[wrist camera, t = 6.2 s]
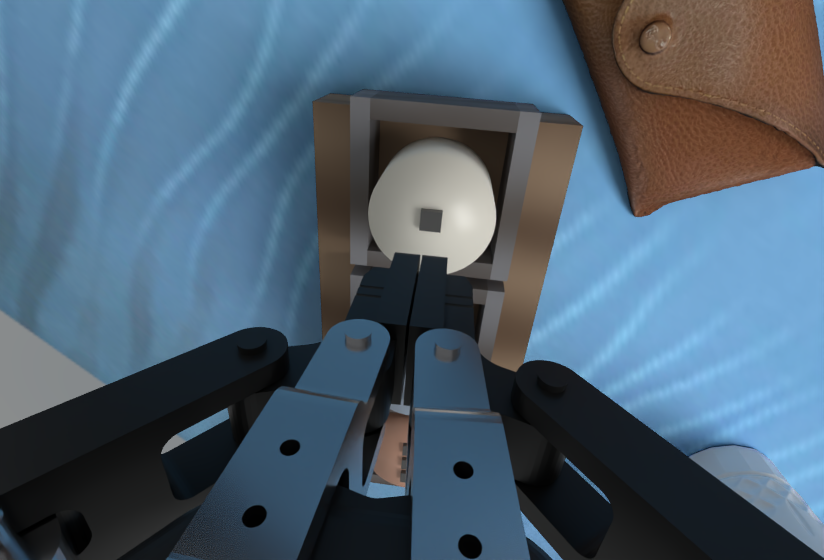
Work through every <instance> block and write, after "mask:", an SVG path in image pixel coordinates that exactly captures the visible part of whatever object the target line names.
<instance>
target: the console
mask: <svg viewBox="0 0 824 560" xmlns="http://www.w3.org/2000/svg"><path fill="white" fill-rule="evenodd" d="M313 121H314V146H315V170H316V194H317V218H318V242H319V266H320V290H321V314H322V339H324V337H325V336H326V334H327V332H328V331H329V330H330V329H331V328H332V327H333V326H334V325H336V324H338V323H340V322H343V321H345V319H346V317H347V314H348V312H349V309H350V307H351V305H352V302H353V300H354V297H355V295H356V292H357V290H358V288H359V287H360V283H361V280H362V278H363V276H364V274H366V273H367V272H368V271H370V270H371V269H373V268H374V267H381V268H390V266H391V263H392V261H391V260H390V259H389V258H388V257H387V256H386V255H385V254H384V253H383V252H382V251H381V250H380V248H379V247H378V245H377V244H376V242H375V240H374V238H373V236H372V233H371V230H370V226H369V220H368V209H369V202H370V198H371V195H372V192H373V190H374V188H375V186H376V184H377V183H378V181H379V179H380V177H381V176H382V174H383V172H384V171H385V169H386V167H387V166H388V164H389V162H390V161H391V160H392V158H393V157H394V156H395V155H396V154H397V153H398V152H399V151H400V150H401V149H402V148H404V147H405V146H407V145H408V144H410V143H412V142H414V141H417V140H420V139H424V138H429V137H444V138H450V139H453V140H456V141H458V142H461V143H463V144H465V145H466V146H468V147H469V148H471V149H472V150H473V151H474V152H475V153H476V154H477V155H478V156H479V157H480V158H481V160H482V161H483V163H484V164H485V166H486V168H487V170H488V172H489V175H490V179H491V184H492V190H493V196H494V202H495V208H496V224H495V229H494V233H493V236H492V238H491V241H490V243H489V244H488V246H487V248H486V249H485V251H484V252H483V253H482V254H481V255H480V256H479V257H478V258H477V259H476V260H475V261H474V262H473V263H471V264H470V265H468V266H466V267H465V268H463V269H461V270H458V271H456V272H453V273H449V274H448V275H457V276H465V277H466V279H467V280H468V281H469V282H470V284H471V285H472V286H473V309H474V333H475V342H476V343H477V344H478V346H479V349H480V353H481V354H482V355H483V356H484V357H485V358H486V359H487V360H489V361H490V362H492V363H494V364H496V365H498V366H501V367H503V368H506V369H509V370H512V371H515V372H517V370H518V368H519V367H520V366H521V365H523V361H524V357H525V353H526V350H527V346H528V342H529V338H530V334H531V330H532V326H533V322H534V318H535V314H536V310H537V306H538V302H539V298H540V294H541V290H542V286H543V282H544V278H545V274H546V271H547V267H548V263H549V259H550V255H551V251H552V247H553V243H554V239H555V235H556V231H557V227H558V223H559V219H560V215H561V211H562V207H563V203H564V199H565V195H566V191H567V188H568V184H569V180H570V176H571V172H572V168H573V164H574V160H575V156H576V152H577V148H578V144H579V140H580V136H581V132H582V128H583V125H581V124H580V123H579V122H578V121H576V120H575V119H574V118H572V117H571V116H570V115H566V114H555V113H544V112H540V111H539V110H538V109H537V108H536V107H535V106H534V105H533V104H527V103H516V102H504V101H493V100H482V99H470V98H459V97H448V96H436V95H425V94H414V93H402V92H391V91H380V90H368V89H362V90H360V91H359V92H357V93H355V94H353V95H342V94H331V93H330V94H328V95H326V96H324V97H321V98H319V99H317V100H315V101H313ZM389 412H394V413H398V412H395V411H393V410H391V409H390V411H389ZM370 482H373V483H380V484H387V485H394V484H391V483H389V482H387V481H385V480H384V479H382V478H381V477H380V476H378V475H377V474H376V473H375V472H374V471H373V474H372V478H371V481H370ZM394 486H397V485H394Z"/></svg>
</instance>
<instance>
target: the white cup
mask: <svg viewBox="0 0 824 560" xmlns="http://www.w3.org/2000/svg"><path fill="white" fill-rule="evenodd" d="M689 458H690V459H692V460H693V461H694V462H696V463H697V464H698V465H700V466H701V467H702V468H704V469H705V470H706V471H708V472H709V473H710V474H712V475H713V476H715V477H716V478H717V479H719V480H720V481H721V482H723V483H724V484H725V485H727V486H728V487H729V488H731V489H732V490H733V491H735V492H736V493H737V494H739V495H740V496H741V497H743V498H744V499H745V500H747V501H748V502H749V503H751V504H752V505H753V506H755V507H756V508H757V509H759V510H760V511H761V512H763V513H764V514H766V515H767V516H768V517H770V518H771V519H772V520H774V521H775V522H776V523H778V524H779V525H780V526H782V527H783V528H784V529H786V530H787V531H788V532H790V533H791V534H792V535H794V536H795V537H796V538H798V539H799V540H800V541H802V542H803V543H804V544H806V545H807V546H808V547H810V548H811V549H812V550H814V551H815V552H816V553H818V554H819V555H821V556H822V557H823V558H824V524H823V523H822V522H821V520H820V519H819V518H818V517H817V516H816V515H815V514H814V513H813V511H812V510H811V508H810V507H809V506H808V504H807V503H806V502H805V501H804V499H803V498H802V497H801V496H800V495H799V494H798V493H797V492H796V491H795V490H794V489H793V488H792V487H791V486H790V484H789V483H788V482H787V480H786V479H785V478H784V476H783V475H782V474H781V472H780V471H779V470H778V469H777V467H776V466H775V465H774V463H773V462H772V461H771V460H770V459H769V458H767V457H766V456H765V455H763V454H762V453H760V452H759V451H757V450H756V449H752V448H746V447H741V446H736V445H731V446H720V447H711V448H708V449H706V450H703V451H700V452H698V453H696V454H693V455H691V456H689Z"/></svg>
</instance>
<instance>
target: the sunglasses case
mask: <svg viewBox="0 0 824 560" xmlns="http://www.w3.org/2000/svg"><path fill="white" fill-rule="evenodd" d="M562 1H563V3H564V5H565V7H566V10H567V12H568V15H569V18H570V20H571V23H572V26H573V29H574V32H575V34H576V36H577V39H578V42H579V44H580V47H581V50H582V52H583V55H584V59H585V61H586V63H587V65H588V68H589V72H590V75H591V79H592V81H593V82H594V85H595V88H596V91H597V93H598V96H599V99H600V102H601V106H602V109H603V111H604V113H605V117H606V119H607V122H608V124H609V127H610V133H611V135H612V136H613V140H614V143H615V146H616V148H617V152H618V154H619V158H620V163H621V166H622V170H623V173H624V177H625V181H626V185H627V190H628V192H627V193H628V198H629V203H630V207H631V210H632V212H633V214H634V216H635V217H642V216H647V215H650V214H651V213H652V212H654V211H656V210H658V209H659V208H661V207H662V206H663V205H667V204H668V203H672V202H675V201H679V200H683V199H686V198H692V197H695V196H698V195H702V194H708V193H711V192H714V191H720V190H722V189H726V188H730V187H734V186H740V185H742V184H747V183H751V182H754V181H758V180H764V179H769V178H771V177H776V176H780V175H784V174H787V173H790V172H796V171H799V170H804V169H808V168H811V167H813V166H818V167H822V168H824V74H823V65H822V57H821V50H820V44H819V37H818V28H817V23H816V16H815V12H814V5H813V0H562Z"/></svg>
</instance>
